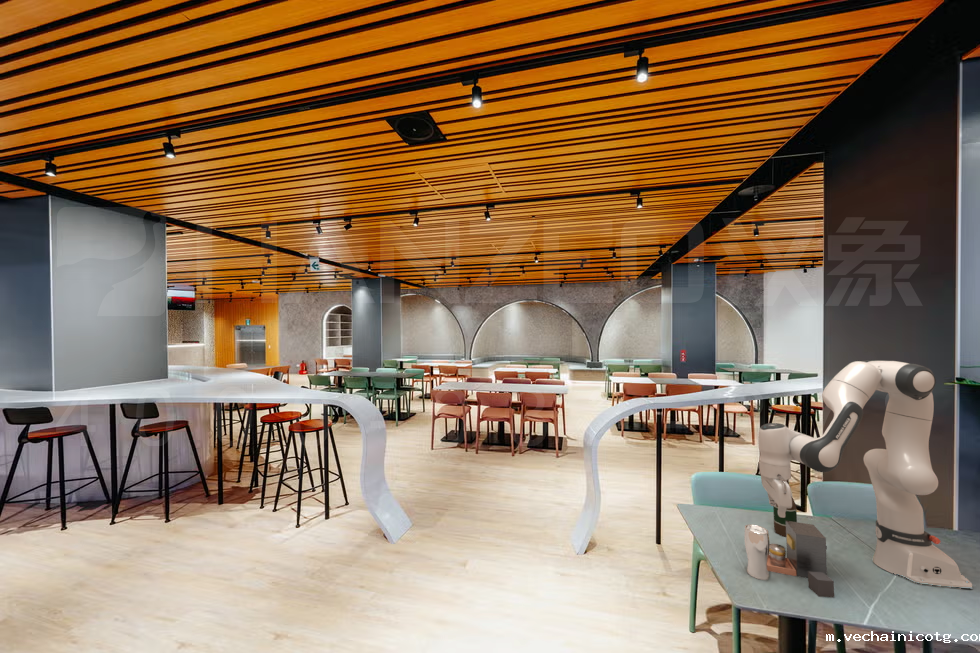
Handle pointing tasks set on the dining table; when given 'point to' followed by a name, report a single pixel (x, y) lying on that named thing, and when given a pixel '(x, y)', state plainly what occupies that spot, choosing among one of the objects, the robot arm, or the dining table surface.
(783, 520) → the beer bottle
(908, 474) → the robot arm
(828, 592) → the rubber block
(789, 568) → the tray
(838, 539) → the dining table surface
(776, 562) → the cylinder
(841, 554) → the dining table surface
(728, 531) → the dining table surface
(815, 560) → the dark grey block
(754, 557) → the beer glass
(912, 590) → the dining table surface
